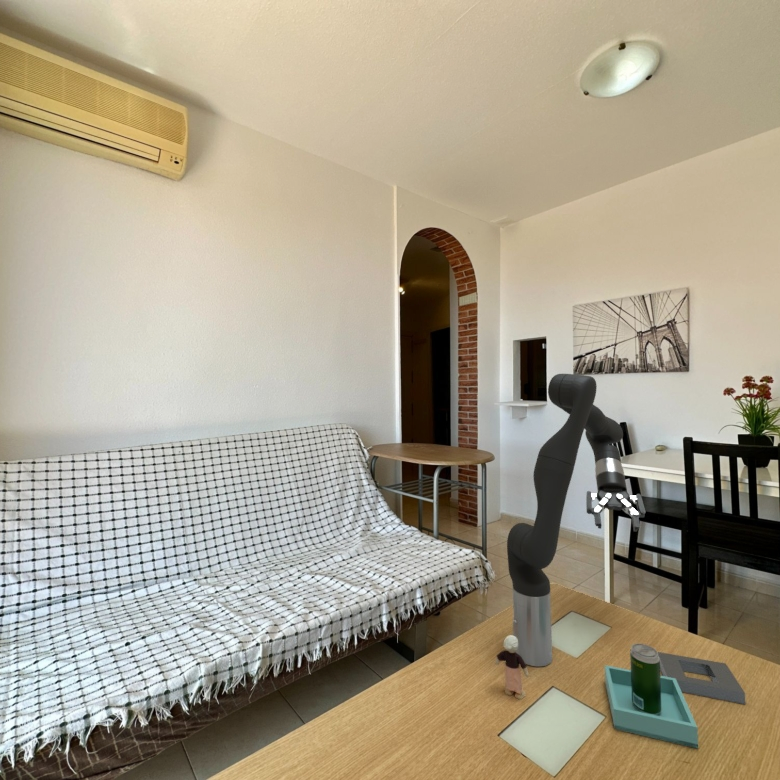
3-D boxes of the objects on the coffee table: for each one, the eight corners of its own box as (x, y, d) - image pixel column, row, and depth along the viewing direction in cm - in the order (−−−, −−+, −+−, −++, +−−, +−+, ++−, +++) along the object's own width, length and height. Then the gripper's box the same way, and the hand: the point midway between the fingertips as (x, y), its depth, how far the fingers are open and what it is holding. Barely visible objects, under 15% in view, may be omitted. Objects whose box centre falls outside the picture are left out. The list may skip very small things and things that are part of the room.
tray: (614, 729, 82) (613, 709, 82) (605, 682, 95) (604, 665, 96) (698, 748, 77) (697, 727, 77) (676, 696, 90) (675, 678, 91)
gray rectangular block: (668, 689, 93) (668, 678, 93) (657, 661, 102) (656, 651, 102) (745, 704, 88) (744, 692, 88) (726, 674, 97) (725, 663, 97)
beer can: (654, 721, 83) (652, 662, 83) (626, 705, 87) (624, 648, 88) (666, 709, 86) (664, 652, 86) (639, 694, 90) (637, 639, 90)
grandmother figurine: (531, 691, 93) (529, 635, 93) (529, 702, 90) (527, 644, 90) (497, 682, 97) (495, 628, 97) (493, 693, 93) (492, 637, 93)
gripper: (584, 469, 121) (589, 519, 110) (639, 471, 116) (650, 524, 105) (583, 483, 126) (587, 532, 115) (636, 485, 121) (646, 537, 110)
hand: (617, 528), depth 110 cm, fingers open, 8 cm apart
